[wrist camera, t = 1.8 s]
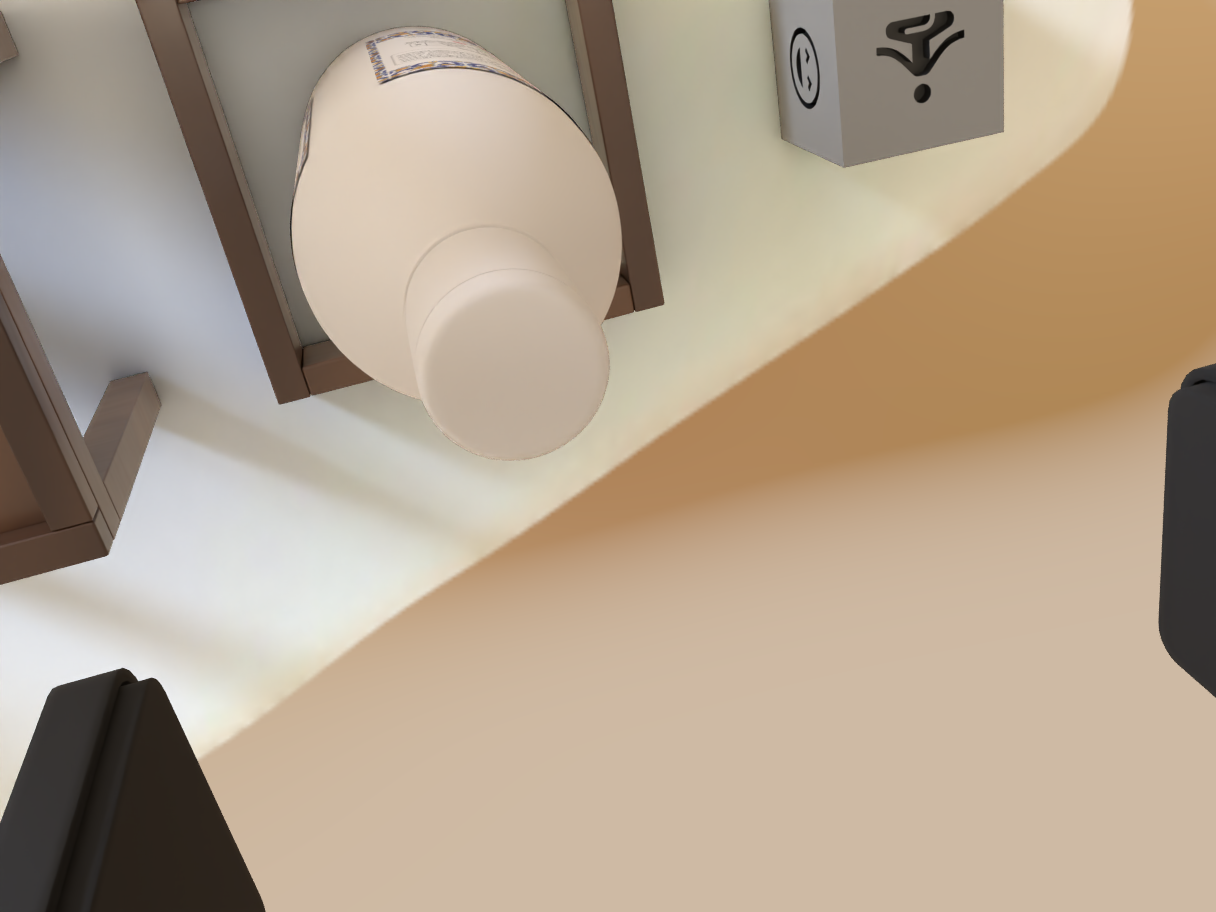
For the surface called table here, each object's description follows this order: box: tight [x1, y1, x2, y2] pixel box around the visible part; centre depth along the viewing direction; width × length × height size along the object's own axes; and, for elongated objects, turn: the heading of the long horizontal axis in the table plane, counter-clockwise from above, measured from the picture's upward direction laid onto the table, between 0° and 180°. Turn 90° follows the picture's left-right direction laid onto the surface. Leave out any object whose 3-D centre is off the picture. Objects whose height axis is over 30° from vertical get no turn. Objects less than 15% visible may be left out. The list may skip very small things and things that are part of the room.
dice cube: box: [769, 0, 1004, 168], centre depth 34 cm, size 5×5×5 cm
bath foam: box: [290, 26, 622, 461], centre depth 26 cm, size 7×7×20 cm
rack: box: [0, 0, 664, 585], centre depth 29 cm, size 28×12×10 cm, turn 101°
